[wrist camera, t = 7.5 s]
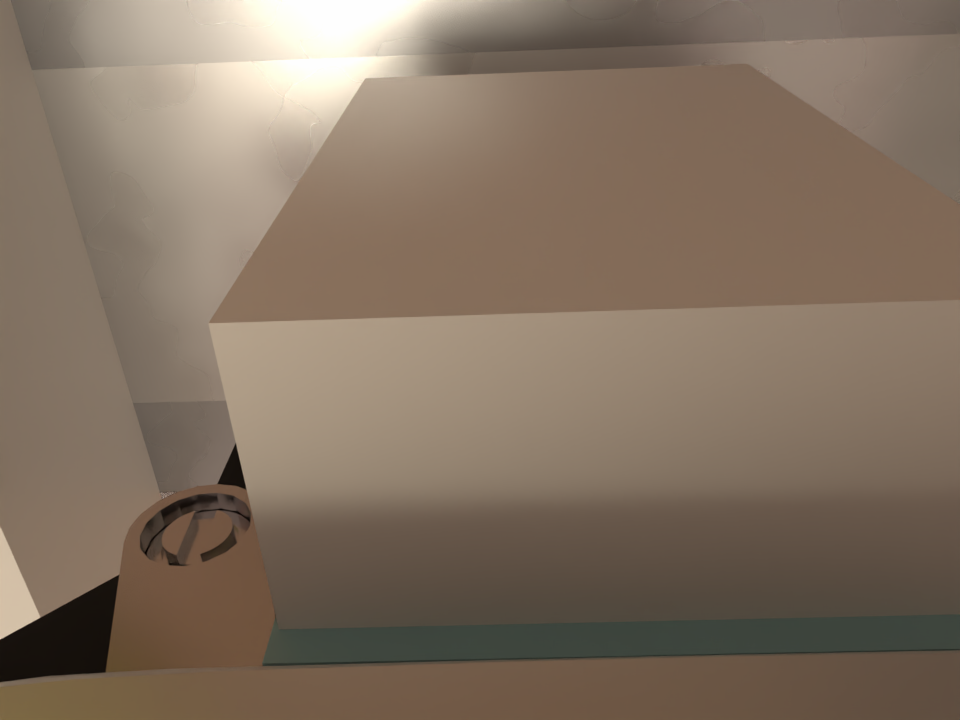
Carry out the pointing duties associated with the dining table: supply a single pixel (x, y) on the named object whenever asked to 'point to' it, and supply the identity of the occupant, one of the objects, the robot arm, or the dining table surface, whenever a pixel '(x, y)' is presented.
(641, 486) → the block
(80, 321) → the block
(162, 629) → the robot arm
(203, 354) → the rail
